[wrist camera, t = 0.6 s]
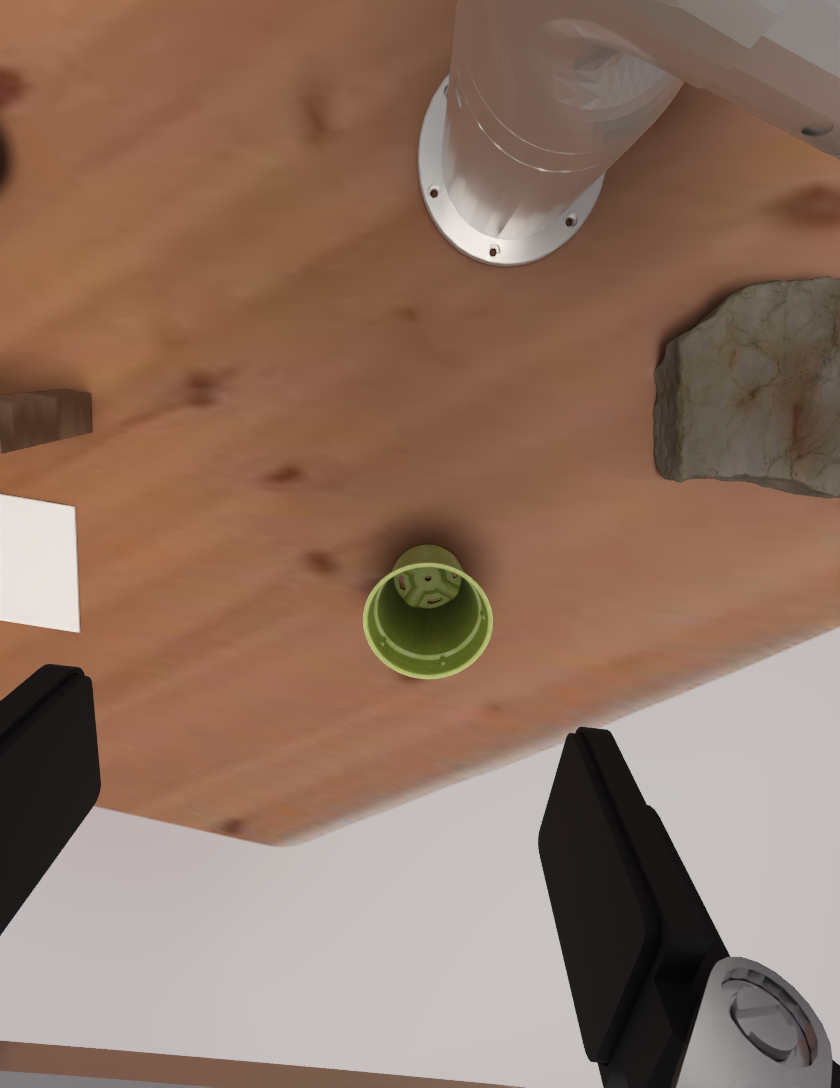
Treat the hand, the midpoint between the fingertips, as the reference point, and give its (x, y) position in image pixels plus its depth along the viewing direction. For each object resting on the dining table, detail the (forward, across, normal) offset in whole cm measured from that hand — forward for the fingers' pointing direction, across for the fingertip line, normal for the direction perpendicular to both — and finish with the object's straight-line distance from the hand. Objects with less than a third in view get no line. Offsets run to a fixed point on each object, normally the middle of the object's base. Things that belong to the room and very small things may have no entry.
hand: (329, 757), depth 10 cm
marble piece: (+35, -26, -7) cm, 45 cm away
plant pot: (+34, -4, +11) cm, 36 cm away
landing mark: (+34, +32, +14) cm, 49 cm away
